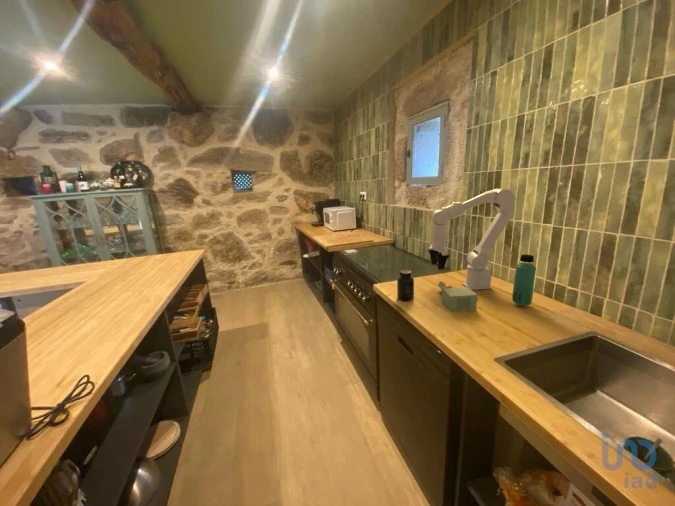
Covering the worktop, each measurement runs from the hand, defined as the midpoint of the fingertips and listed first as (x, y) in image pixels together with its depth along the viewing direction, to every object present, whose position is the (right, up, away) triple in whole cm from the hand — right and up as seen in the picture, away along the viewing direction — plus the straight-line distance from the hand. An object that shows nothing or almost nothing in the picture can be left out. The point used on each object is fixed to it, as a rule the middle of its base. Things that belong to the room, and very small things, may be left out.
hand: (437, 266), depth 127 cm
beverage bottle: (+25, -14, -21) cm, 35 cm away
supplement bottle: (-17, -13, -9) cm, 23 cm away
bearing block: (+1, -14, -18) cm, 23 cm away
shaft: (+1, -12, -10) cm, 16 cm away
